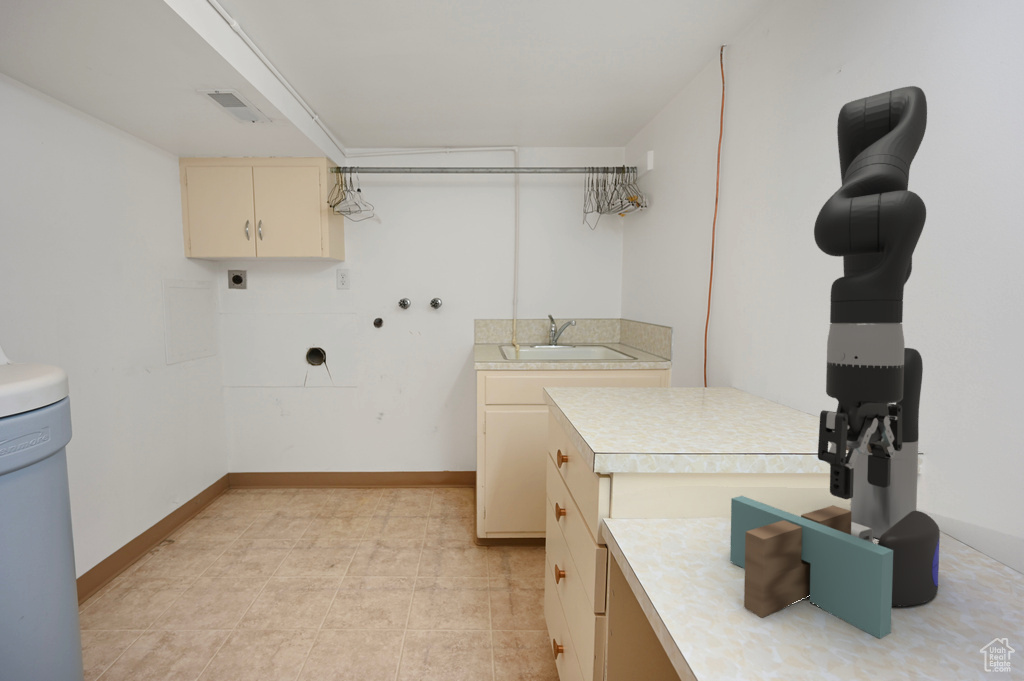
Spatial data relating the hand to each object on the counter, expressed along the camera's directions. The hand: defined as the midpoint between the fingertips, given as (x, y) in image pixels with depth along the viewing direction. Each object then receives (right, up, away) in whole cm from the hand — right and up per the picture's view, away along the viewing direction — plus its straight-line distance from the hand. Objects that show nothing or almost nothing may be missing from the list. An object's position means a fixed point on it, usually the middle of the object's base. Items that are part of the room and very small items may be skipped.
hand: (860, 491), depth 57 cm
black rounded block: (+12, -17, +8) cm, 22 cm away
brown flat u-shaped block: (-3, -16, +7) cm, 18 cm away
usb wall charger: (+13, -16, +21) cm, 29 cm away
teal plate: (-3, -16, +7) cm, 18 cm away
